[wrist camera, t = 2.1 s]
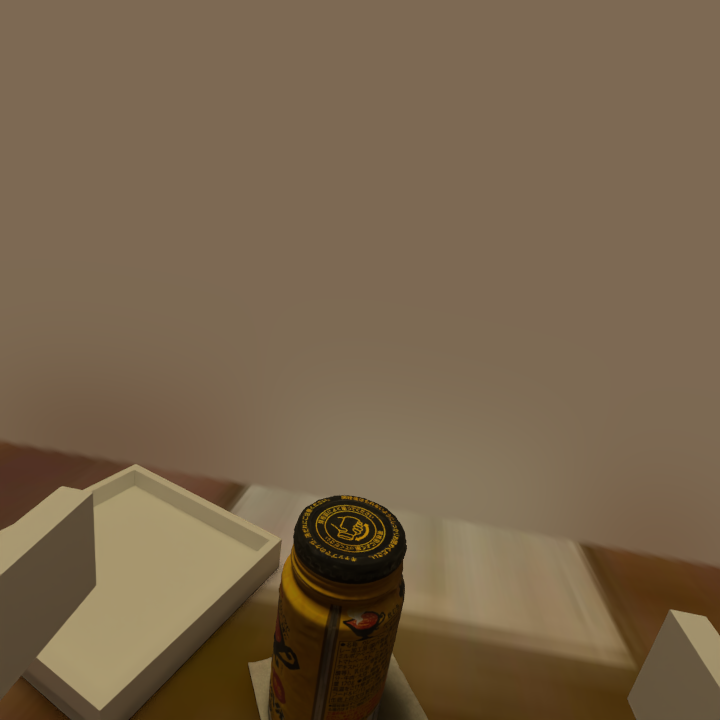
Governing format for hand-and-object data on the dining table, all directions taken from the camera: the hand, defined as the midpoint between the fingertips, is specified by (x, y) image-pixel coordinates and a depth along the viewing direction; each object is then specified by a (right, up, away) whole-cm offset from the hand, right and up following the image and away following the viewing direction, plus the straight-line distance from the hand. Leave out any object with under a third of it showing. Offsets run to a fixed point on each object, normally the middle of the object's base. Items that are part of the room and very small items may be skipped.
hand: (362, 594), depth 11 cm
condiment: (-1, -14, +15) cm, 21 cm away
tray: (-16, -9, +20) cm, 28 cm away
